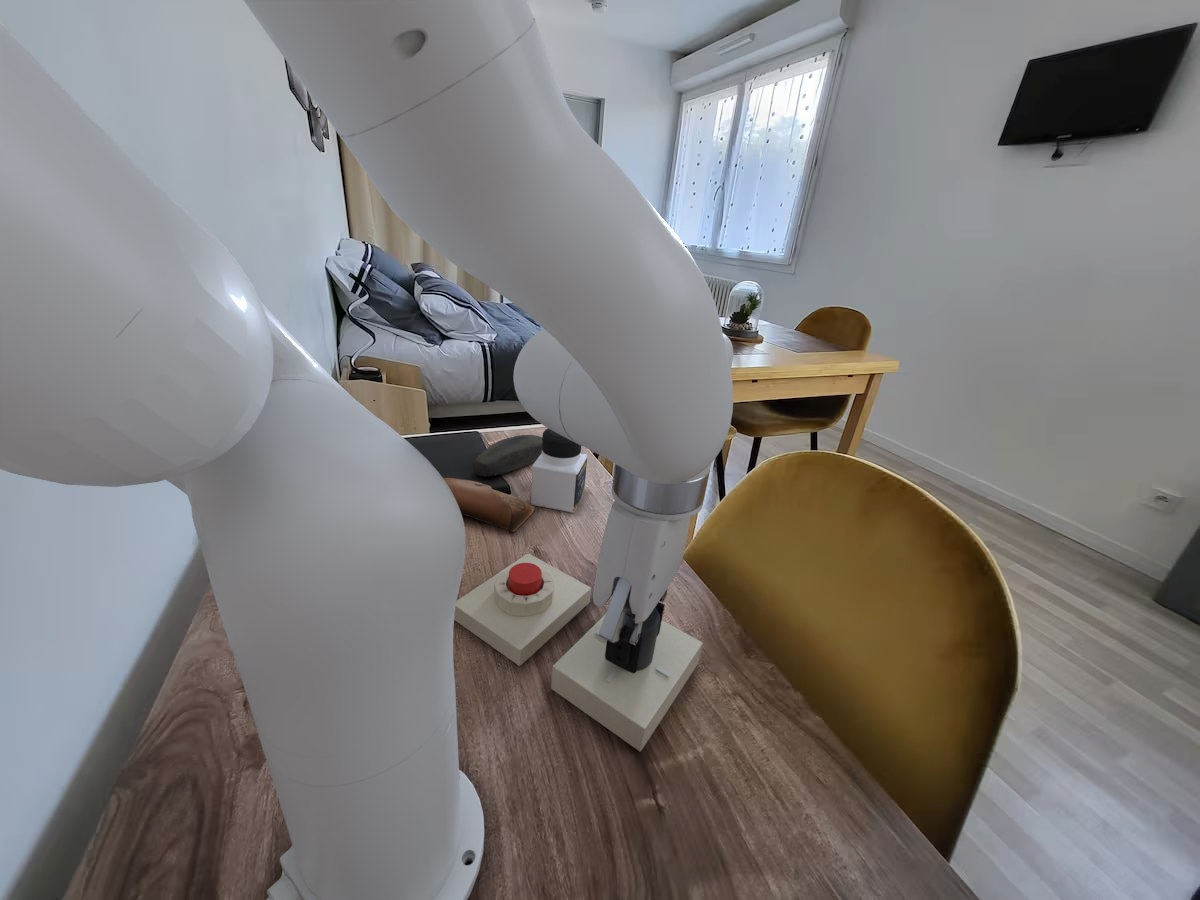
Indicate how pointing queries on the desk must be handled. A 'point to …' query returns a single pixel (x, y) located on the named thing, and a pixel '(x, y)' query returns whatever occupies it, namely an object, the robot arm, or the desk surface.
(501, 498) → the sunglasses case
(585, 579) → the desk surface
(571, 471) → the medicine bottle
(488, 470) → the decorative stone
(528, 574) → the power button
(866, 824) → the desk surface
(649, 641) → the timer knob
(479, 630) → the button block
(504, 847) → the desk surface
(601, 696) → the timer panel
